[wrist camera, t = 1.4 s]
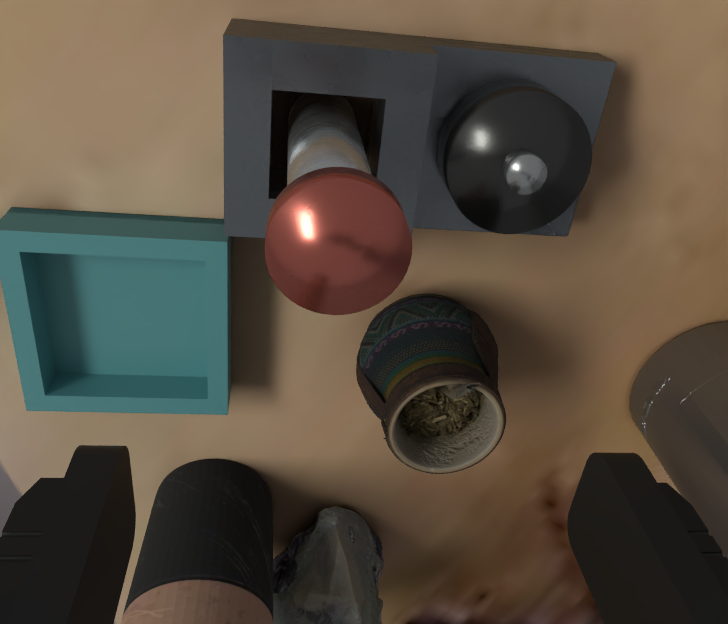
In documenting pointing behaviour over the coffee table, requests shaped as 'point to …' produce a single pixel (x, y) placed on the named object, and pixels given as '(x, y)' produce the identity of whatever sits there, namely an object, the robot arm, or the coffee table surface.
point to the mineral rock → (329, 573)
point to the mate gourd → (433, 383)
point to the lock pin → (334, 216)
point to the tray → (118, 310)
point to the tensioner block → (422, 123)
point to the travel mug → (206, 549)
